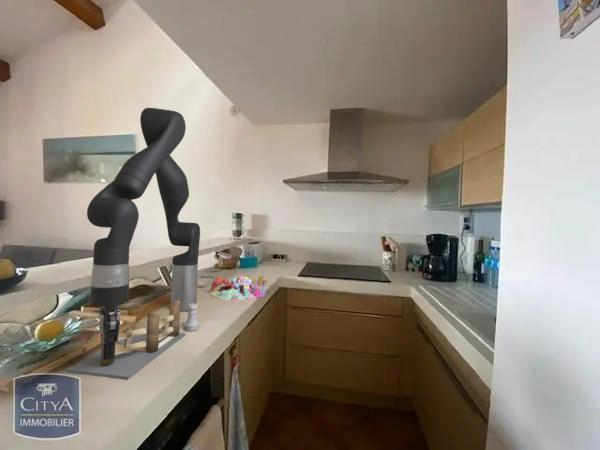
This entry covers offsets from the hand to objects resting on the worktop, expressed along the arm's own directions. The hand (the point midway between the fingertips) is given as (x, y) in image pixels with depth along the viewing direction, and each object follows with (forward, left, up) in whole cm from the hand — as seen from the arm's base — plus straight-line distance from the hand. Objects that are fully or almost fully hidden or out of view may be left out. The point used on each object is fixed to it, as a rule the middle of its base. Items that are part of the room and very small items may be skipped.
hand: (107, 355), depth 67 cm
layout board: (-8, +1, -3) cm, 9 cm away
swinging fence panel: (-3, +2, -2) cm, 4 cm away
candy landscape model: (-69, +9, -3) cm, 70 cm away
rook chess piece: (-25, +8, -3) cm, 27 cm away
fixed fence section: (-13, +6, -2) cm, 14 cm away
